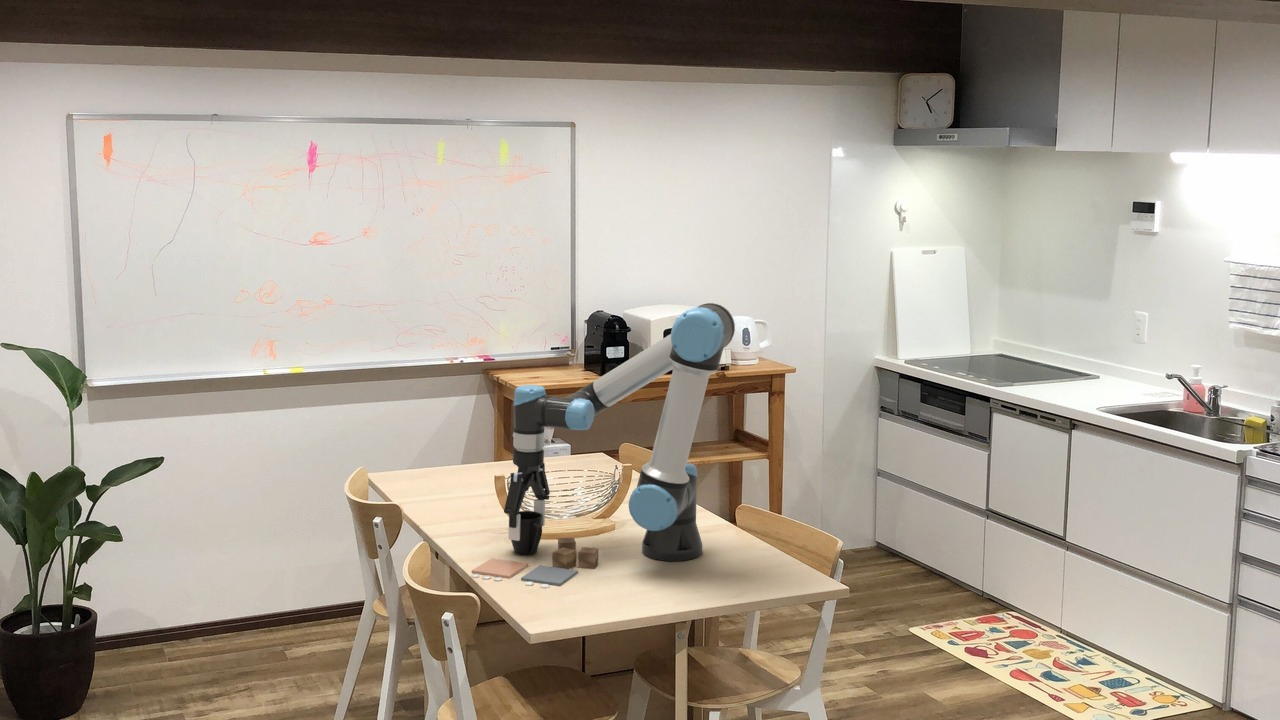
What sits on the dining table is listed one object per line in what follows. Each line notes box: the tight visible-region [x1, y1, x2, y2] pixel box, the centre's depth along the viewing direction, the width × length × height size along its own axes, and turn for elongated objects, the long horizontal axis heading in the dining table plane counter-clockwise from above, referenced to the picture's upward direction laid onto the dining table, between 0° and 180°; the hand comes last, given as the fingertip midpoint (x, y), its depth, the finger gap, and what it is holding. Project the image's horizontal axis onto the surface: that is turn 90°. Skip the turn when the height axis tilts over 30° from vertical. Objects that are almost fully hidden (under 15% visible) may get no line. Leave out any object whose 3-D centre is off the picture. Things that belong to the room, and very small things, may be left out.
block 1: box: [557, 537, 577, 552], centre depth 304 cm, size 4×4×4 cm
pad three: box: [470, 557, 530, 582], centre depth 292 cm, size 10×13×1 cm
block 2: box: [551, 547, 577, 569], centre depth 296 cm, size 4×4×4 cm
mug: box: [510, 510, 543, 556], centre depth 304 cm, size 8×12×10 cm
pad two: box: [520, 564, 579, 589], centre depth 287 cm, size 10×13×1 cm
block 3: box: [577, 546, 599, 570], centre depth 297 cm, size 4×4×4 cm
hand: (526, 532), depth 304 cm, fingers open, 13 cm apart
